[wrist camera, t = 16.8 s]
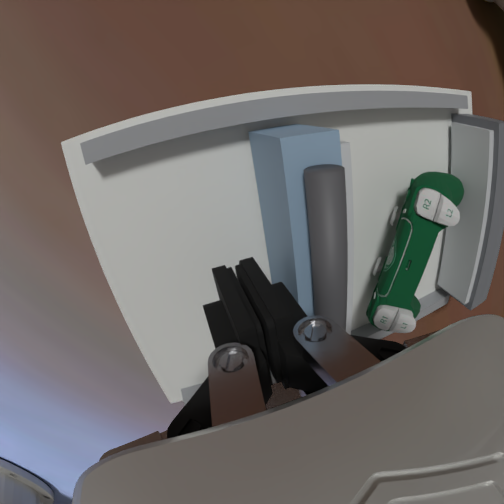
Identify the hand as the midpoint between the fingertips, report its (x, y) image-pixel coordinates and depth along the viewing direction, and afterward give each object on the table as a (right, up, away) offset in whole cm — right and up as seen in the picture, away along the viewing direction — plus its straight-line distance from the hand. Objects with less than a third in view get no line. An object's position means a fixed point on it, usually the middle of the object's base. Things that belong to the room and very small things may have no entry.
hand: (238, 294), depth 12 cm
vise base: (+5, +3, +3) cm, 6 cm away
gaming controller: (+9, +2, +4) cm, 10 cm away
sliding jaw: (+3, +1, +2) cm, 3 cm away
